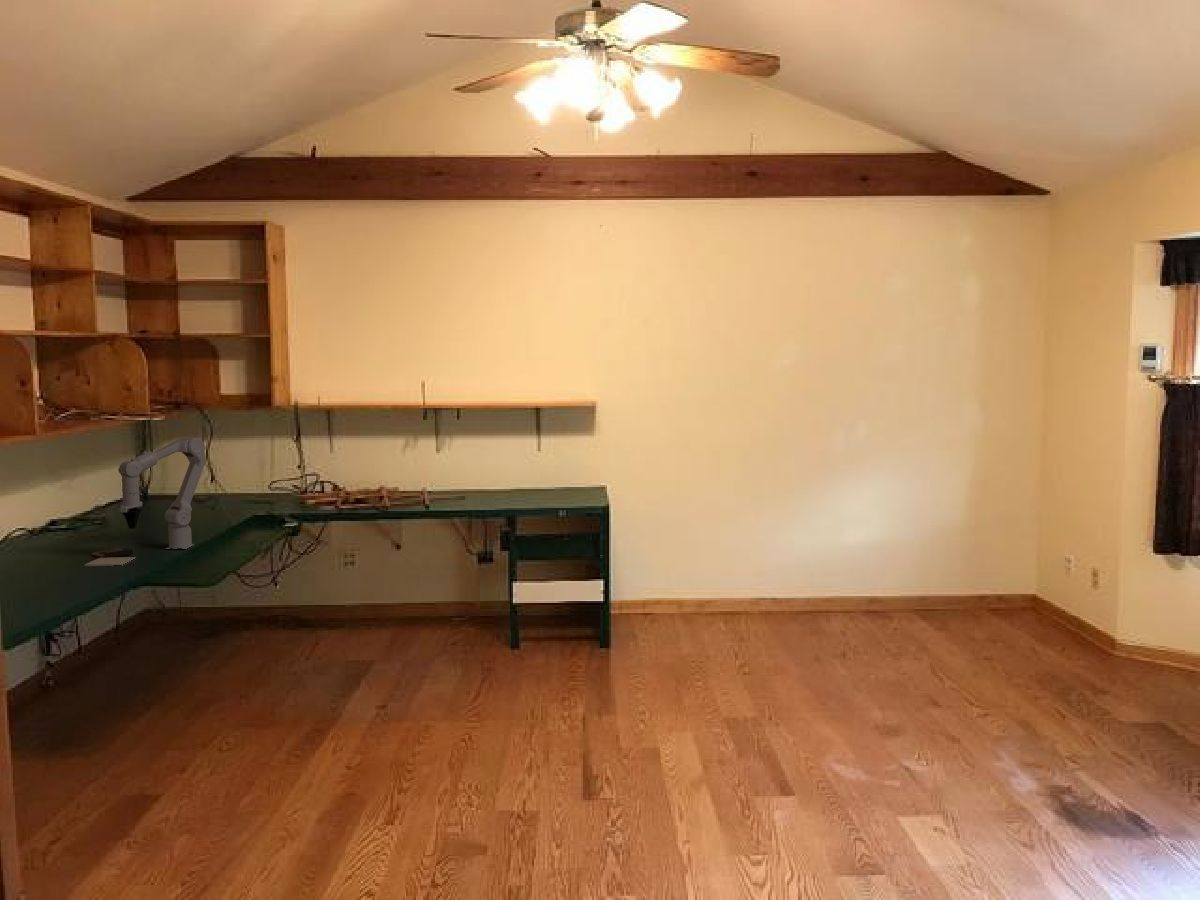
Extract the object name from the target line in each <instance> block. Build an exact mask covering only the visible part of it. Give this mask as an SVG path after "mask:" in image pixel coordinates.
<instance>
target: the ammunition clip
mask: <svg viewBox="0 0 1200 900" xmlns="http://www.w3.org/2000/svg"><path fill="white" fill-rule="evenodd" d="M91 554H92V556H95V557H98V558H113V557H122V556H123V557H124V556H129V555H134V550H133V548H116V549H110V550H103V551H97V552H92V553H91Z"/></svg>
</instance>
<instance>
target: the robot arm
mask: <svg viewBox="0 0 1200 900" xmlns="http://www.w3.org/2000/svg"><path fill="white" fill-rule="evenodd" d="M205 451H206V445H205V443H204V442H203V440H202V439H201V438H198V437H189V436H183V437H181V438H178V439H176V440H174V441H173V442H171V443H168V444H167V445H165V446H163V447H161V448H159V449H157V450H155V451H154V452H152V451H142V452H141V455H139V456H136V457H131V458H130V461H129V460H125V461H123V462H121V463H120V465H119V468H118V470H117V471H118V473H119V474H120V475H121V488H122V491H121V492H122V503H121V504H119V509H120V510H119V511H120V513H122V515H123V516H124V518H125V520H126V524H127V525H128V526H127V527H128V529H129V530H130V529H137V525H138V521H139V517H140V514H141V512H142V508H141V507H143V501H140V499H141V498H140V482H139V475H140V474H141V473H143V472H144V471H145V470H148V469H150V468H152V467H153V466H156V465H157V464H158V461H159V460H161V459H164V458H165V457H168V456H170V455H172V454H175V453H182V454H183V455H184V456H185V457H186V458H187V460H188V462H189V464H188V466H187V469H186V472H185V475H184V476H183V477H184V478H183V480H182V482H181V483H182V484H181V485H180V488H179V492H178V494H177V496H176V498H175V500H174V501H172V503H171V504H170V506H169V508H168V509H167V510H166V511H165V512H164V513H165V514H164V519H165V521H166V522H167V524H168V525H167V526H168V527H167V530H168V531H167V532H168V547H166V548H165V549H170V548H173V549H177V548H182V549H186V550H187V548H188V549H190V548H191V546H192V547H194V546H195V543H193V540H192V539H193V538H192V528H191V527H190V526H189V523H190V522H191V521H192V520H191V519H192V511H193V508H192V506H191V503H192V500H193V497H194V495H195V492H196V489H197V486H198V484H199V481H200V478H201V476H202V474H203V470H204V467H205V465H206V462H207V460H206V452H205ZM193 545H194V546H193ZM189 547H190V548H189Z"/></svg>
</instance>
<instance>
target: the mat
mask: <svg viewBox="0 0 1200 900" xmlns="http://www.w3.org/2000/svg"><path fill="white" fill-rule="evenodd" d="M135 558H136V559H137V557H136V556H133V557H130V556H128V557H126V556H125V557H124V556H123V557H122V556H116V557H109V558H101V557H98V558H96V559H94V560H92V561H89V562H87V563H85V564H84V567H115V566H114V565H122V566H124V565H126V564H128V563H130V562H132V561H131V560H133V559H135ZM136 559H135V560H136ZM129 561H130V562H129ZM133 561H134V560H133ZM127 562H128V563H127ZM125 563H126V564H125ZM123 564H124V565H123Z"/></svg>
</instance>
